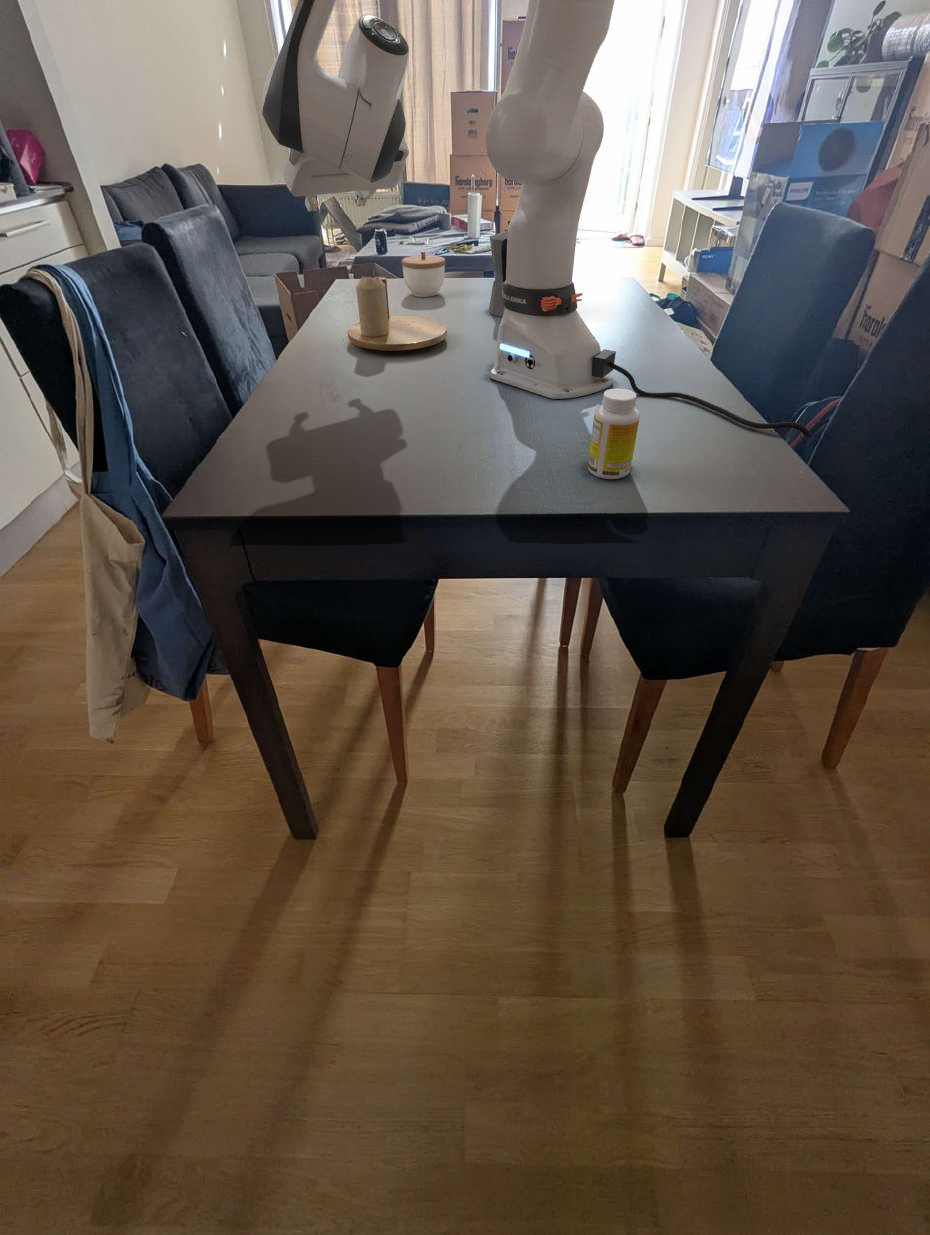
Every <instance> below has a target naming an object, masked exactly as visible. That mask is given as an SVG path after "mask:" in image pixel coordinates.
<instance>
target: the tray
mask: <svg viewBox="0 0 930 1235" xmlns="http://www.w3.org/2000/svg"><path fill="white" fill-rule="evenodd" d="M378 277H379V278H380V280H381V281H382V282H383V283H384V284H385V288H386V301H387V313H388V325H389V333H388V334H387V335H384V336H378V337H369V336H364V335H362V333H361V327H360V321H359V322H356V323H354V324H352V325H350V326H349V327H348V329H347V338H348V341H349V342H350V343H351V344H352V345H355V346H357V347H359V348H364V349H368V350H374V351H375V350H376V351H389V352H390V351H391V352H392V351H394V352H396V351H410V350H417V349H424V348H428V347H430V346H433V345H437V344H439V343H441V342H442V341H444V340H445V339H446V338H447V336H448V327H447V326H446V324H445V323H443V322H441V321H440V320H437V319H435V318H430V317H424V316H417V315H390V307H389V306H390V305H389V295H388V294H389V293H388V283H387V282H388V281H387V277H384V276H378Z"/></svg>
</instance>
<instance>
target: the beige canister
mask: <svg viewBox="0 0 930 1235" xmlns="http://www.w3.org/2000/svg"><path fill="white" fill-rule="evenodd" d="M379 277H380V276H375V277H371V276H365V275H362V276H361V278H360V279H359V280H358V282H357V283H356V285H355V289H356V300H357V307H358V316H359V317H358V318H359V322H360V327H361V333H362V335H364V336H369V337H378V336H384V335H387V334H388V333H389V325H388V313H387V301H386V288H385V284H384V283H383V282H382V281H381V280H380V278H379Z"/></svg>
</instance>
